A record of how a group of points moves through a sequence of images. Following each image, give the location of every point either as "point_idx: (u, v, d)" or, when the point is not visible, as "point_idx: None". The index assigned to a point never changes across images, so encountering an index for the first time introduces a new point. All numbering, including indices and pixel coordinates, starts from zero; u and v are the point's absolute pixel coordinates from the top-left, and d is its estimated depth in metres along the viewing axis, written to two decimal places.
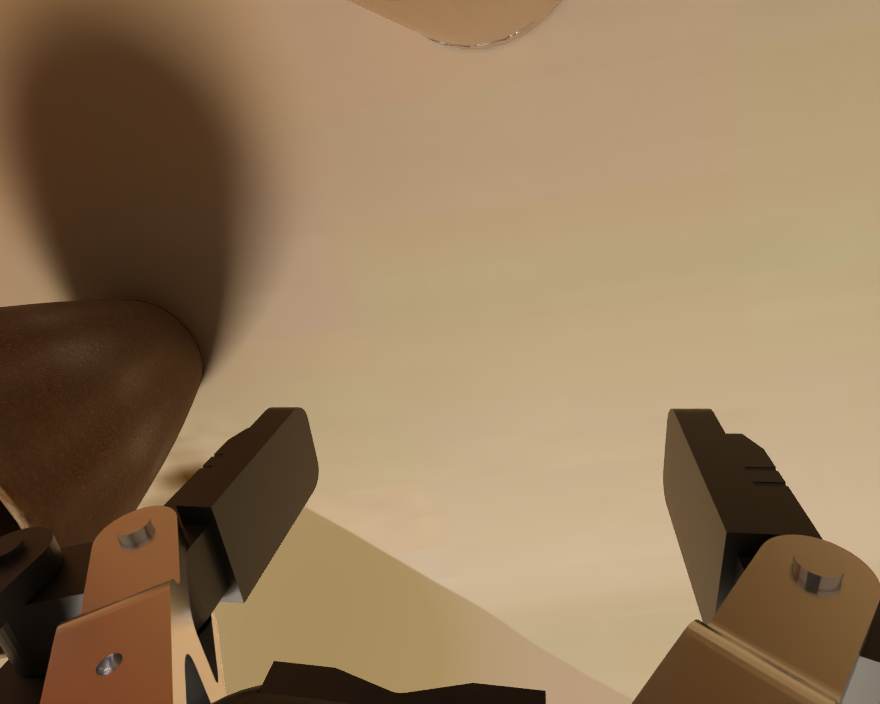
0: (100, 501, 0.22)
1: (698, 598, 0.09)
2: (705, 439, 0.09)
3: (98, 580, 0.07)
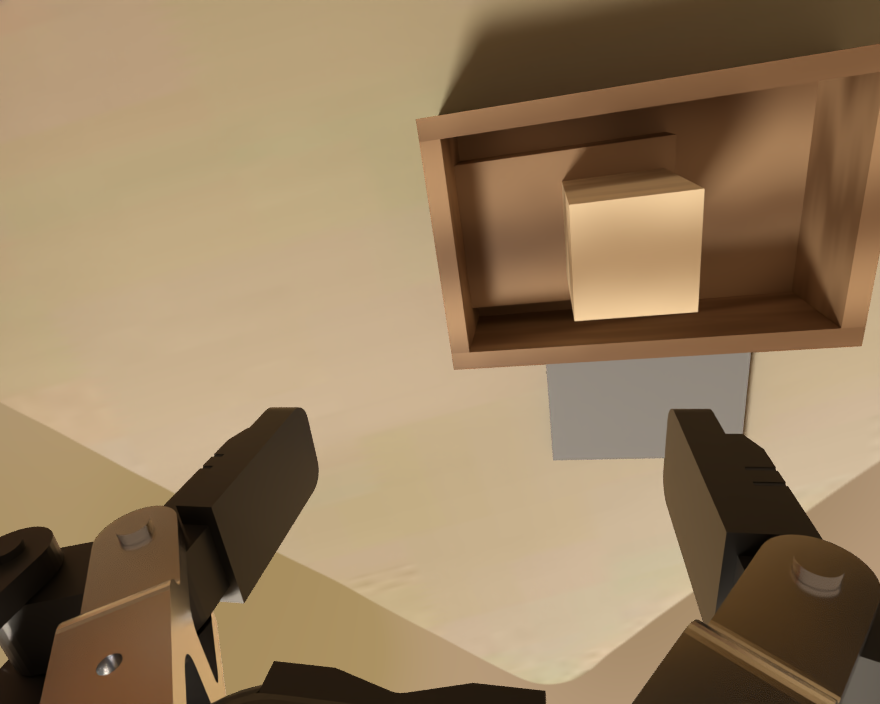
0: None
1: (699, 598, 0.09)
2: (705, 440, 0.09)
3: (98, 580, 0.07)
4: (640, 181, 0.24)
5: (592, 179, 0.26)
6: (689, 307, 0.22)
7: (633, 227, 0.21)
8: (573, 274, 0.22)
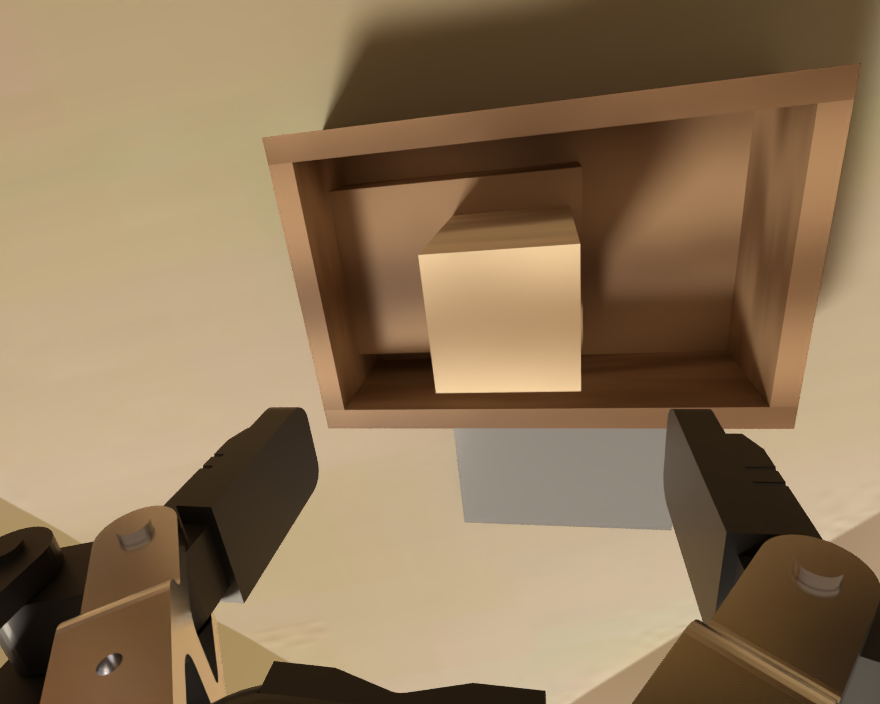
0: None
1: (698, 598, 0.09)
2: (705, 439, 0.09)
3: (98, 580, 0.07)
4: (526, 224, 0.19)
5: (484, 215, 0.22)
6: (570, 385, 0.18)
7: (497, 286, 0.17)
8: (430, 338, 0.18)
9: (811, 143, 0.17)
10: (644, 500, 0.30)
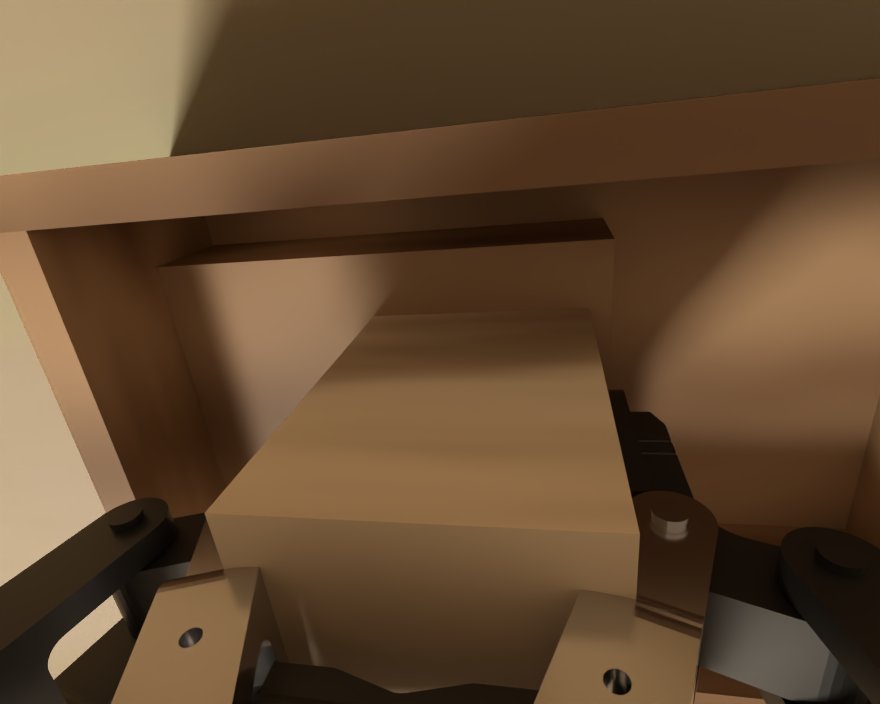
0: None
1: None
2: None
3: (207, 542, 0.08)
4: (501, 374, 0.09)
5: (427, 324, 0.12)
6: None
7: (410, 599, 0.06)
8: None
9: None
10: None
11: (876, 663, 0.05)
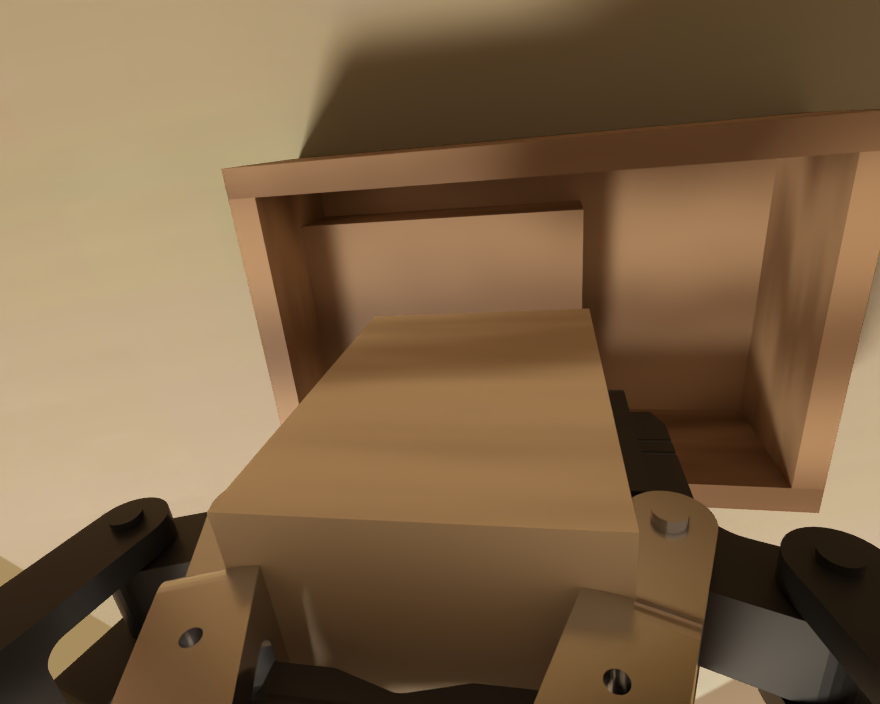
0: None
1: None
2: None
3: (207, 543, 0.08)
4: (501, 374, 0.09)
5: (427, 324, 0.12)
6: None
7: (411, 597, 0.06)
8: None
9: (851, 197, 0.15)
10: None
11: (876, 663, 0.05)
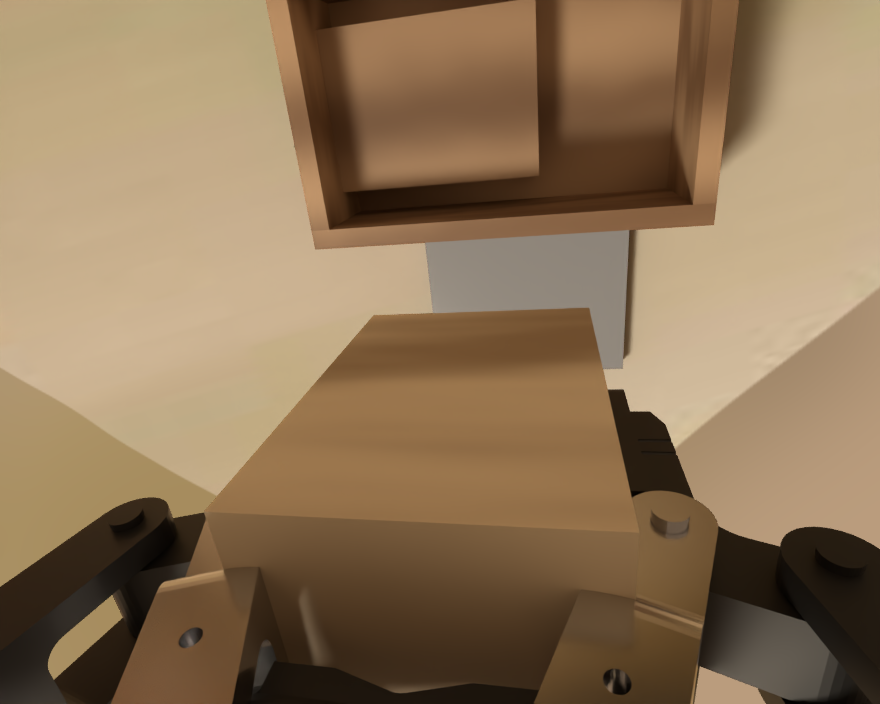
0: None
1: None
2: None
3: (207, 543, 0.08)
4: (501, 373, 0.09)
5: (427, 323, 0.12)
6: None
7: (410, 598, 0.06)
8: None
9: None
10: (598, 339, 0.33)
11: (876, 663, 0.05)
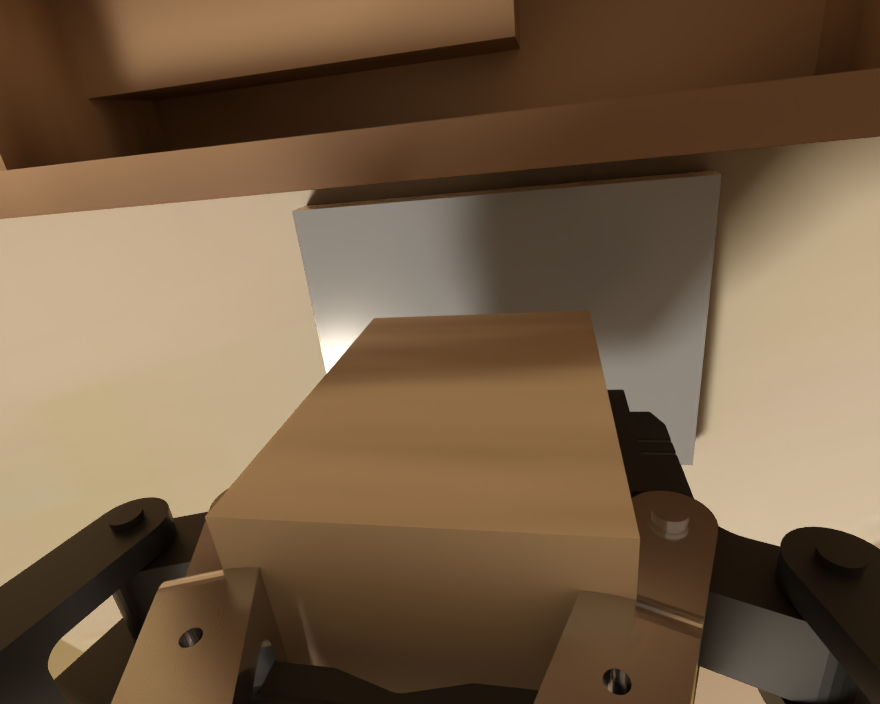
0: None
1: None
2: None
3: (207, 542, 0.08)
4: (501, 377, 0.09)
5: (427, 326, 0.12)
6: None
7: (410, 603, 0.06)
8: None
9: None
10: (645, 409, 0.17)
11: (876, 663, 0.05)
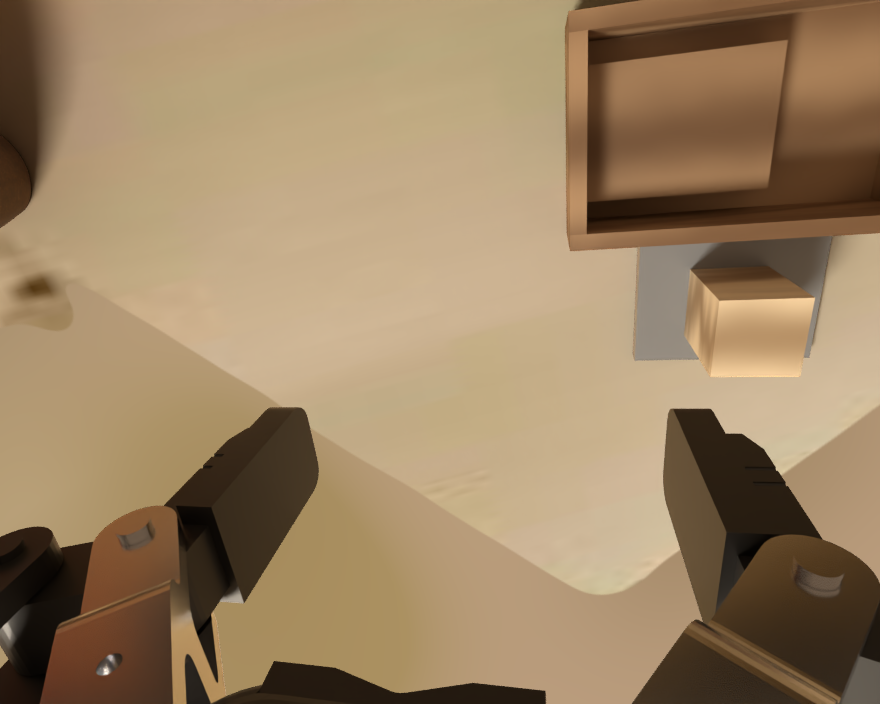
0: None
1: (698, 598, 0.09)
2: (705, 439, 0.09)
3: (98, 580, 0.07)
4: (758, 280, 0.34)
5: (715, 271, 0.36)
6: (794, 373, 0.32)
7: (762, 318, 0.31)
8: (715, 345, 0.32)
9: None
10: None
11: None
